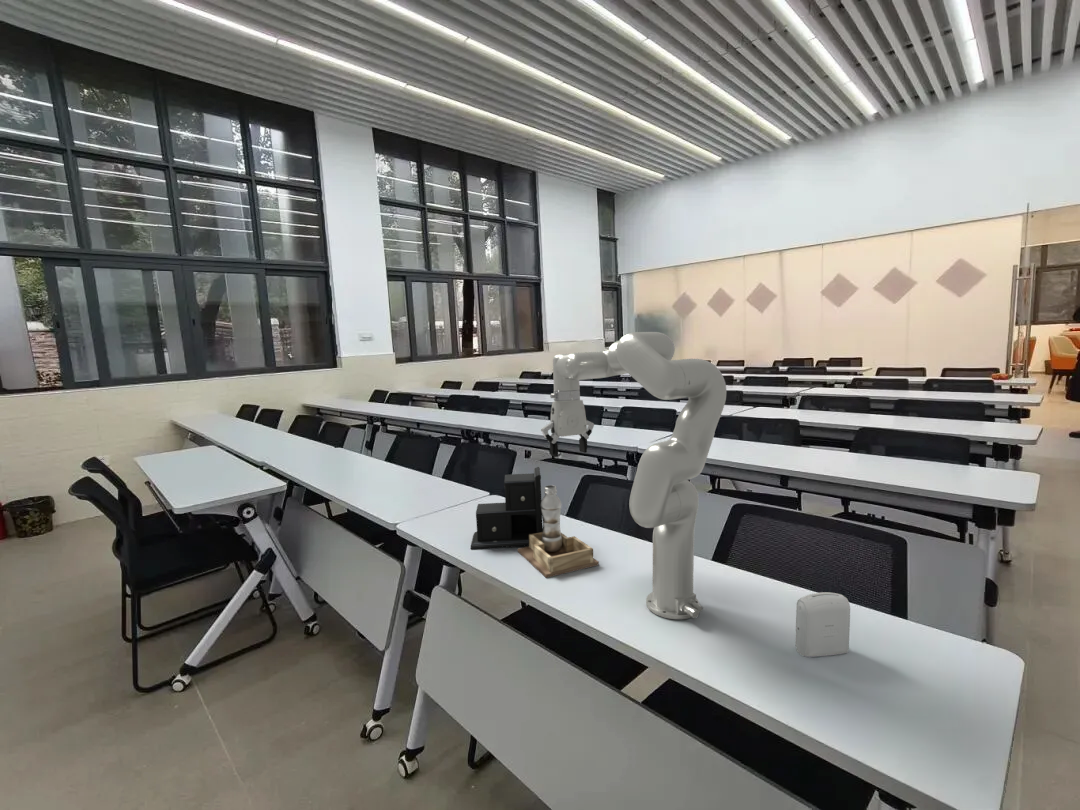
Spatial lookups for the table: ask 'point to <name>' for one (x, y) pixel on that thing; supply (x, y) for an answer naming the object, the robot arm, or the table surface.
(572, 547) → the keyhole plate
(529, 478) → the black drawer cabinet
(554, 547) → the plastic bottle
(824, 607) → the photo printer
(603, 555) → the table surface
